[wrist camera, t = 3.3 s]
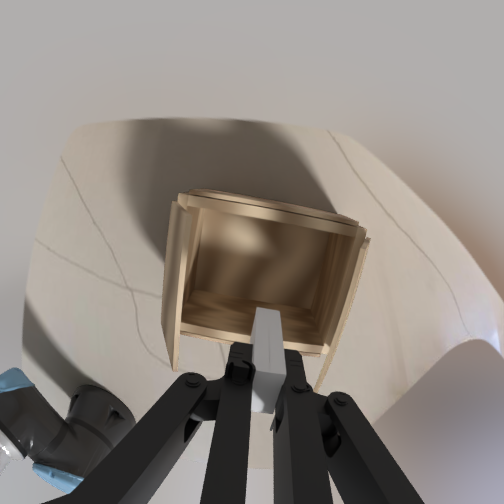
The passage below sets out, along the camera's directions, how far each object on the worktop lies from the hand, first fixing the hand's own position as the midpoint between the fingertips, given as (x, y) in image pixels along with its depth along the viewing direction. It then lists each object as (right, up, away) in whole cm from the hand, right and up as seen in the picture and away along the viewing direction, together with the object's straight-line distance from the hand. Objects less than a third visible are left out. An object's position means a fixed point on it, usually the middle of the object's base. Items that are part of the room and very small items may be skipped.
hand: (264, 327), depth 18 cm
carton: (0, +4, +18) cm, 19 cm away
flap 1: (-7, +2, +5) cm, 9 cm away
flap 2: (+7, 0, +5) cm, 9 cm away
